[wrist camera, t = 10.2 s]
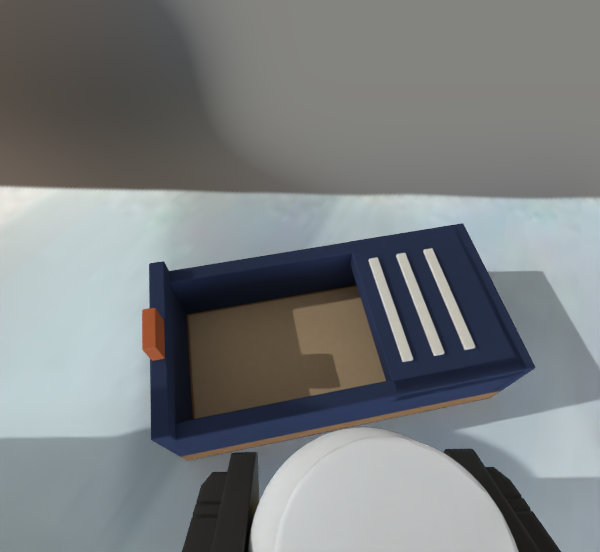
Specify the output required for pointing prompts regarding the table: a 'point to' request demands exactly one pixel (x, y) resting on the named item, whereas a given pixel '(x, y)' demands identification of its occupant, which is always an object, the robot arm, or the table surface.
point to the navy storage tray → (323, 340)
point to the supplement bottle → (376, 500)
